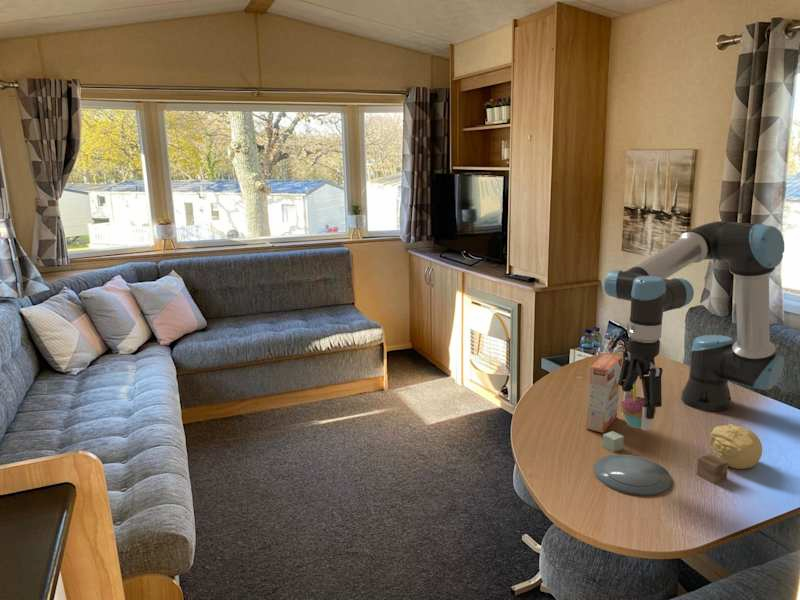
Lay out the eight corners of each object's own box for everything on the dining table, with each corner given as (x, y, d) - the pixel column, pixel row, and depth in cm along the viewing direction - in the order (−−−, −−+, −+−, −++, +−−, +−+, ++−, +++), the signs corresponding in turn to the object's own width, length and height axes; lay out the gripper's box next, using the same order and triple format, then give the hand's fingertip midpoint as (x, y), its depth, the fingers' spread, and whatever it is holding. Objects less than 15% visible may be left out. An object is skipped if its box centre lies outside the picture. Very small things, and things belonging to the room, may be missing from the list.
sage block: (611, 443, 176) (612, 431, 175) (622, 449, 173) (623, 436, 172) (602, 446, 174) (603, 434, 173) (613, 452, 171) (614, 440, 170)
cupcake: (635, 434, 150) (639, 389, 147) (611, 420, 157) (615, 378, 154) (661, 427, 153) (665, 383, 150) (636, 414, 161) (640, 372, 158)
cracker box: (604, 434, 182) (609, 369, 176) (585, 429, 185) (589, 366, 180) (618, 417, 192) (623, 356, 187) (599, 413, 196) (603, 353, 191)
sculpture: (701, 458, 167) (705, 422, 164) (730, 449, 172) (735, 414, 169) (738, 478, 157) (743, 440, 154) (768, 467, 161) (774, 431, 159)
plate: (643, 454, 169) (644, 450, 169) (686, 490, 151) (687, 486, 151) (581, 461, 166) (581, 457, 166) (618, 499, 148) (618, 495, 148)
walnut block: (709, 470, 161) (711, 453, 159) (726, 479, 156) (728, 462, 155) (696, 475, 159) (698, 458, 157) (713, 484, 154) (715, 466, 153)
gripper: (608, 327, 159) (602, 406, 164) (655, 352, 139) (646, 441, 144) (634, 325, 160) (627, 403, 166) (684, 350, 140) (674, 438, 146)
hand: (636, 421), depth 155 cm, fingers closed on cupcake, 8 cm apart
